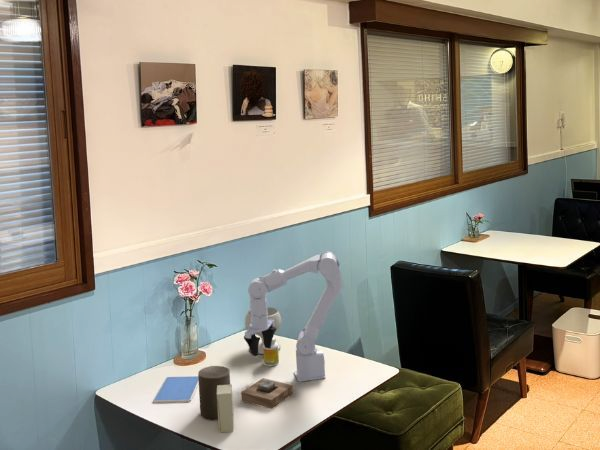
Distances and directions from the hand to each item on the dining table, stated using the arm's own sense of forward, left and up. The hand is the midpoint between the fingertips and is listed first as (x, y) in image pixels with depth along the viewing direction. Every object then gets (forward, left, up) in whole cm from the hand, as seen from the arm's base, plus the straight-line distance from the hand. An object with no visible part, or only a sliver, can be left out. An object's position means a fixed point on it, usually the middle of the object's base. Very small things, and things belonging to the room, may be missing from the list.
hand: (261, 351), depth 227 cm
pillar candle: (+18, +22, -10) cm, 30 cm away
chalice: (-5, -26, -10) cm, 28 cm away
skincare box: (+16, +32, -10) cm, 37 cm away
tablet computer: (+29, +1, -10) cm, 31 cm away
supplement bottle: (-5, -11, -10) cm, 15 cm away
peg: (+1, +16, -10) cm, 18 cm away
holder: (+1, +16, -9) cm, 19 cm away
